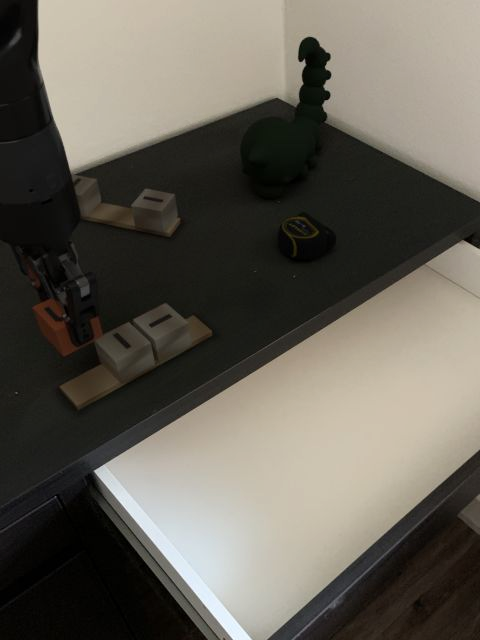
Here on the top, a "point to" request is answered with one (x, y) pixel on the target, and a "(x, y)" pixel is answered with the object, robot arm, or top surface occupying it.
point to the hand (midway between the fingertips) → (70, 327)
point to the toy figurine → (289, 130)
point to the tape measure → (305, 237)
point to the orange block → (60, 326)
